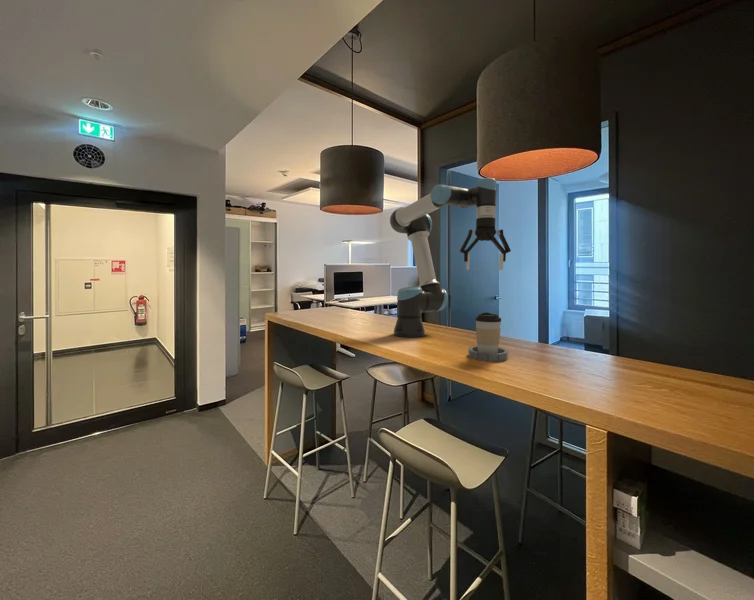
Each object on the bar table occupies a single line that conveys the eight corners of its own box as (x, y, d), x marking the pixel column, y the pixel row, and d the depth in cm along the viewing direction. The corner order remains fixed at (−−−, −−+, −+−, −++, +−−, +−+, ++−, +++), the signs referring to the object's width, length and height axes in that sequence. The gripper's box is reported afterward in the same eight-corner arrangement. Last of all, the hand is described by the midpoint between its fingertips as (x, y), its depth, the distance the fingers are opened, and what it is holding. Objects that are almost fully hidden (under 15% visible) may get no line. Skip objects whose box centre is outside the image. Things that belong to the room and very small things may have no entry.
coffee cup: (504, 357, 123) (505, 315, 122) (478, 357, 124) (479, 315, 122) (496, 351, 132) (497, 312, 131) (472, 351, 133) (472, 312, 131)
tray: (465, 352, 135) (465, 345, 135) (501, 352, 134) (501, 346, 134) (473, 361, 121) (473, 354, 121) (513, 361, 121) (513, 354, 121)
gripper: (456, 216, 140) (455, 269, 142) (519, 216, 139) (518, 269, 141) (453, 219, 147) (452, 269, 149) (513, 219, 146) (511, 269, 148)
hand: (484, 269), depth 145 cm, fingers open, 13 cm apart
